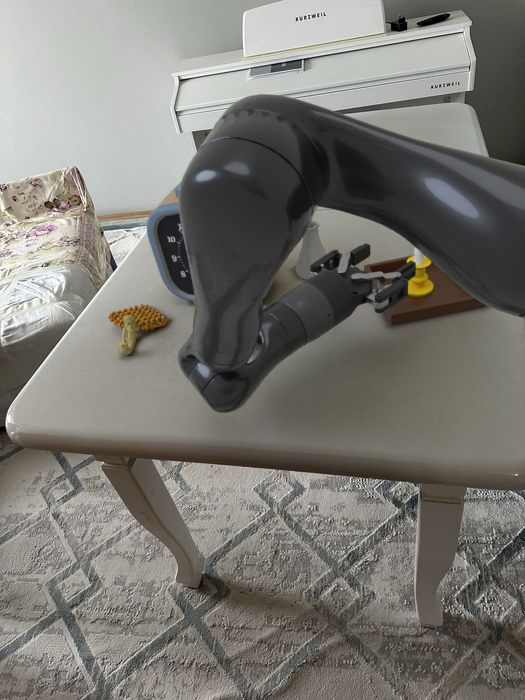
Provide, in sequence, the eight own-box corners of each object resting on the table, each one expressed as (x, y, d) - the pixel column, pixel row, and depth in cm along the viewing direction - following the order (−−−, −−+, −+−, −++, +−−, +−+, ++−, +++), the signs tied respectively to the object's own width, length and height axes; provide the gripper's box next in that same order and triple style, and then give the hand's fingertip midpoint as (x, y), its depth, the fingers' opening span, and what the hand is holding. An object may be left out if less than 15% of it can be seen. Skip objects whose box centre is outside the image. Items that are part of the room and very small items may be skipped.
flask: (317, 257, 103) (313, 210, 96) (341, 271, 98) (338, 223, 91) (288, 271, 100) (281, 225, 94) (310, 286, 95) (305, 238, 89)
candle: (438, 284, 89) (445, 199, 79) (424, 300, 86) (430, 214, 76) (410, 276, 92) (414, 194, 82) (396, 291, 89) (398, 208, 79)
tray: (447, 260, 95) (448, 248, 94) (485, 308, 83) (488, 295, 82) (364, 277, 95) (363, 265, 94) (390, 327, 83) (391, 315, 82)
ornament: (116, 287, 96) (88, 322, 82) (172, 293, 96) (154, 328, 82) (118, 320, 99) (91, 359, 86) (172, 325, 99) (154, 365, 86)
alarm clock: (169, 307, 97) (133, 200, 83) (188, 279, 104) (157, 175, 90) (274, 312, 91) (254, 197, 77) (287, 281, 98) (270, 170, 84)
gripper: (350, 305, 64) (432, 249, 71) (275, 268, 73) (353, 222, 80) (352, 351, 69) (429, 294, 75) (282, 310, 78) (355, 263, 85)
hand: (390, 257), depth 78 cm, fingers open, 8 cm apart
